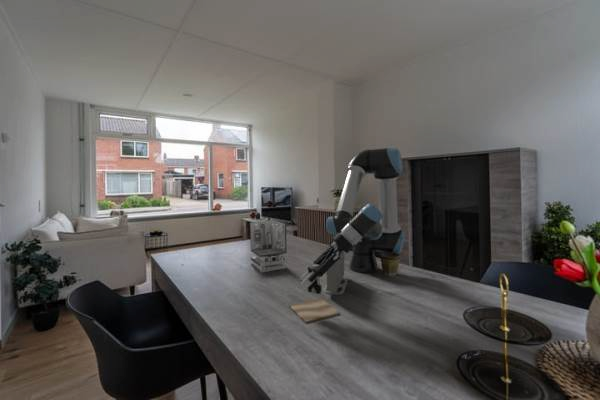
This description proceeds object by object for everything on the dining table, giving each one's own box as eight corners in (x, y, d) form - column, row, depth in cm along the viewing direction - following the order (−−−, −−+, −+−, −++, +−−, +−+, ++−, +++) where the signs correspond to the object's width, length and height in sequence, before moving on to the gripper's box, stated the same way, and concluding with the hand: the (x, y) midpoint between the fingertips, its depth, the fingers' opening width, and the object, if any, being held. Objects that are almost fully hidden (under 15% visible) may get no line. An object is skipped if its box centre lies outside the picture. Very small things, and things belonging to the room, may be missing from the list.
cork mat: (289, 306, 107) (289, 305, 107) (320, 299, 113) (320, 298, 113) (305, 323, 94) (305, 321, 94) (340, 314, 100) (340, 312, 100)
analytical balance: (276, 261, 169) (275, 220, 167) (289, 269, 152) (288, 224, 150) (251, 265, 161) (250, 222, 160) (262, 274, 145) (261, 227, 143)
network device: (341, 298, 114) (341, 250, 112) (320, 296, 116) (320, 249, 115) (348, 277, 138) (348, 237, 137) (331, 276, 141) (331, 237, 139)
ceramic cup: (402, 276, 138) (403, 257, 137) (382, 277, 138) (382, 257, 137) (394, 268, 151) (394, 250, 150) (376, 268, 151) (376, 250, 150)
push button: (301, 292, 102) (301, 265, 101) (308, 288, 106) (308, 262, 106) (318, 295, 99) (318, 267, 98) (324, 291, 103) (324, 264, 103)
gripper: (360, 252, 93) (311, 300, 93) (349, 240, 111) (309, 281, 112) (344, 236, 92) (295, 285, 93) (336, 227, 111) (295, 268, 111)
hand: (303, 283), depth 102 cm, fingers closed on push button, 5 cm apart
